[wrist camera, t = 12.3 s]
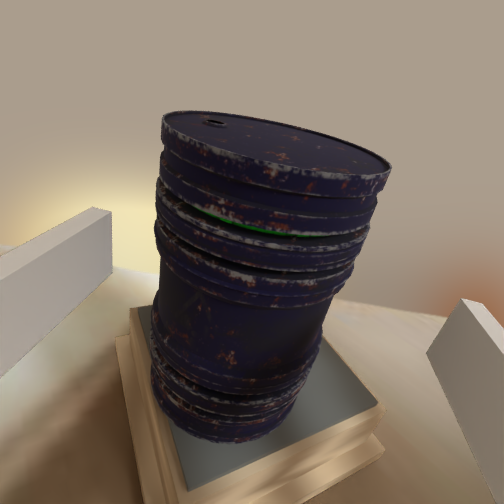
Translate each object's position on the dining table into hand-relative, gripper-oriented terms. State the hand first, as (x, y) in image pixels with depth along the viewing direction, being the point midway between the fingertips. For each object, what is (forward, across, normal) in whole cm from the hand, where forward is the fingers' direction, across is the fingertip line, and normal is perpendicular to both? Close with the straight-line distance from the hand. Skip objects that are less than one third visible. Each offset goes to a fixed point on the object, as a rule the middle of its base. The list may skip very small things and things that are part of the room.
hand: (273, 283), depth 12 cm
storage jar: (+5, -1, -10) cm, 12 cm away
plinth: (+7, 0, -16) cm, 17 cm away
